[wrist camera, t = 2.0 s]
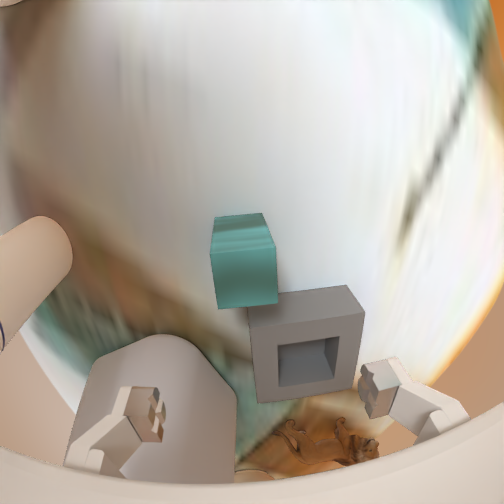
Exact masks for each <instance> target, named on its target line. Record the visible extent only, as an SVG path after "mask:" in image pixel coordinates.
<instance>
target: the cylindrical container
mask: <svg viewBox="0 0 504 504" xmlns="http://www.w3.org/2000/svg"><path fill="white" fill-rule="evenodd" d="M72 261H73V252H72V247H71V244H70V241H69V238H68V236H67V234H66V233H65V231H64V230H63V228H62V227H61V226H60V225H59V224H58V223H57V222H55V221H54V220H53V219H51V218H48V217H45V216H35V217H32V218H30V219H28V220H27V221H25V222H23V223H22V224H20V225H18V226H16V227H15V228H13V229H11V230H10V231H8V232H7V233H5V234H3V235H2V236H0V353H1V352H2V351H3V349H4V348H5V347H6V345H7V344H8V343H9V342H10V340H11V339H12V338H13V336H14V335H15V334H16V332H17V331H18V330H19V329H20V328H21V327H22V325H23V324H24V323H25V322H26V320H27V319H28V318H29V317H30V316H31V314H32V313H33V312H34V311H35V310H36V309H37V307H38V306H39V305H40V304H41V303H42V302H43V301H44V299H45V298H46V297H47V296H48V295H49V294H50V293H51V292H52V290H53V289H54V288H55V287H56V286H57V285H58V284H59V283H60V282H61V281H62V279H63V278H64V277H65V276H66V275H67V274H68V272H69V271H70V269H71V266H72Z"/></svg>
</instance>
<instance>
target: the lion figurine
mask: <svg viewBox="0 0 504 504" xmlns="http://www.w3.org/2000/svg"><path fill="white" fill-rule="evenodd" d="M344 422H345V418H343V417H342V418H340V419H338V420H337V422H336V426H337V428H336V429H335V432H334V433H335V437H336V439H324V440H321V441H318V442H317V443H315V444H314V443H313V441H312V440H311V439H310V438H309V437H308V436H306V435H305V434H306V432H305V431H297V430H295V429H293V428H292V426H294V425H295V422H294V421H293V420H288V421H287V422H286V425H285V427H286V429H287V431H288V433H289V435H291V436H292V437H294V438H295V440H296V441H297V451H296V450H295V448H294V447H293V445H292V444H291V443H290V441H289V439H288V438H287V437H286V436H285V435H284V434H283V433H281V432H280V431H273V432H272V434H273V435H279V436H281V437H283V439H284V440H285V442H286V443H287V445H288V447H289V449H290V451H291V452H292V454H293V455H294V456H295V457H296V458H297V459H298V460H299V461H300V462H302V463H304V464H308V465H312V464H315V463H319V462H325V461H336V462H338V463H340V464H341V465H344V466H350V465H354V464H358V463H362V462H365V461H369V460H372V459H376V458H379V452H378V448H377V447H378V445H379V443H378V441H375V440H374V438H369V439H367V438H360V437H359V436H358V435H349V433H348V432H347V430H346V429H345V428H344V426H343V425H342V423H344Z"/></svg>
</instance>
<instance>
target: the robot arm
mask: <svg viewBox="0 0 504 504" xmlns="http://www.w3.org/2000/svg"><path fill="white" fill-rule="evenodd" d="M20 1H22V0H0V6H2V7H3V6H9V5H13V4H16V3H18V2H20ZM360 372H361V374H362V376H361V377H360V378H359V380H358V392H359V396H360V398H361V400H362V401H364V402H366V405H365V409H366V412H367V414H368V416H369V418H370V419H373V418H377V417H381V416H385V415H388V414H389V416H390V417H391V418H393V419H394V420H395V421H397V422H398V423H400V424H401V425H402V426H404V427H405V428H407V429H408V430H410V431H411V432H412V433H414V434H415V435H417V436H418V438H417V439H416V441H415V443H414V444H413V446H411V447H409V448H406V449H403V450H400V451H397V452H394V453H391V454H388V455H385V456H382V457H379V458H376V459H372V460H369V461H365V462H362V463H358V464H354V465H350V466H346V467H342V468H338V469H334V470H329V471H324V472H319V473H314V474H309V475H303V476H297V477H290V478H283V479H276V480H267V481H257V482H245V483H227V484H179V483H161V482H149V481H139V480H131V479H126V477H125V476H124V475H123V474H122V473H121V472H120V471H119V470H120V468H121V467H122V466H123V465H124V464H125V463H126V462H127V460H128V459H129V458H130V457H131V456H132V455H133V454H134V452H135V451H136V450H137V449H138V448H139V447H140V445H141V444H142V442H158V443H162V438H163V432H164V429H163V427H162V424H163V423H164V422H165V419H166V408H165V404H164V402H163V400H162V399H160V398H159V396H160V392H159V390H158V388H157V387H138V386H122V387H121V388H120V389H119V392H118V395H117V398H116V401H115V404H114V407H113V410H112V413H111V415H107V416H106V417H104V418H103V419H102V420H101V421H99V422H98V423H97V424H96V425H94V426H93V427H92V428H91V429H89V430H88V431H87V432H86V433H85V434H83V435H82V436H81V437H79V438H78V439H77V440H76V441H74V442H73V443H72V444H71V446H70V449H69V452H68V455H67V458H66V460H65V463H64V466H59V465H56V464H52V463H48V462H45V461H42V460H39V459H36V458H32V457H29V456H26V455H24V454H21V453H18V452H15V451H12V450H10V449H8V448H5V447H1V446H0V504H504V402H502V403H500V404H499V405H497V406H495V407H494V408H492V409H490V410H488V411H487V412H485V413H483V414H481V415H479V416H478V417H476V418H474V419H472V420H471V418H470V417H469V416H468V414H467V412H466V411H465V409H464V408H463V407H462V405H461V404H460V402H459V401H458V400H456V399H454V398H451V397H449V396H447V395H445V394H443V393H441V392H439V391H437V390H434V389H432V388H430V387H428V386H426V385H424V384H422V383H420V382H418V381H414V382H413V380H412V379H411V377H410V376H409V374H408V373H407V371H406V370H405V368H404V367H403V365H402V364H401V362H400V361H399V359H398V358H397V357H392V358H388V359H385V360H380V361H376V362H372V363H368V364H364V365H362V367H361V371H360Z"/></svg>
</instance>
